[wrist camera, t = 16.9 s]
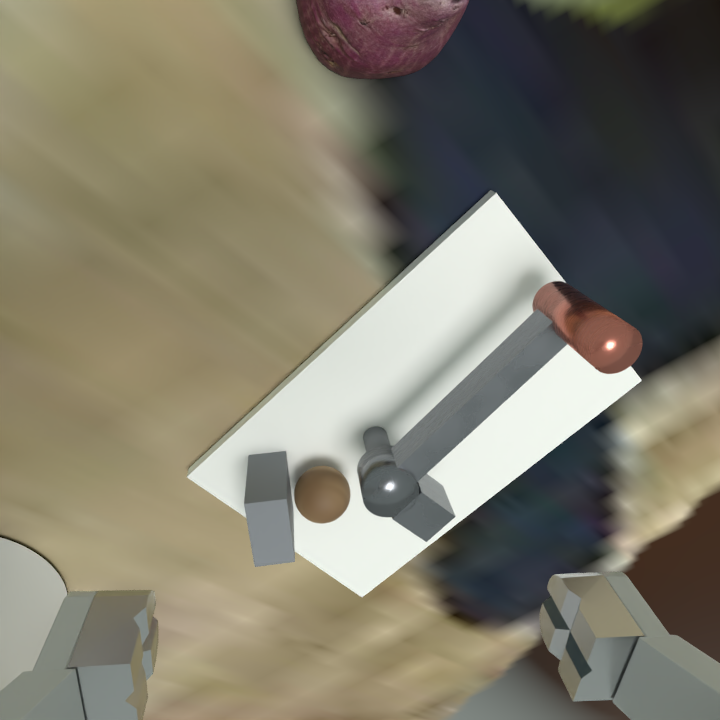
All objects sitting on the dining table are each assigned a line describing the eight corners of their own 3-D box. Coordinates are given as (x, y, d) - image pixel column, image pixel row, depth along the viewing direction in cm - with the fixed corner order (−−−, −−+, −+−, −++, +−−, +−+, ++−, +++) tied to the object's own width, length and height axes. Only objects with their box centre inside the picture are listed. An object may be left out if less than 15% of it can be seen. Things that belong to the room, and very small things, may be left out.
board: (360, 587, 54) (370, 653, 48) (188, 468, 46) (173, 528, 40) (633, 374, 48) (688, 417, 41) (490, 190, 39) (531, 208, 33)
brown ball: (320, 507, 48) (323, 545, 44) (282, 478, 46) (282, 515, 42) (358, 475, 47) (365, 511, 43) (320, 445, 45) (324, 479, 41)
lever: (411, 513, 45) (436, 593, 37) (345, 468, 42) (358, 545, 35) (613, 332, 40) (685, 383, 33) (552, 267, 37) (617, 308, 30)
